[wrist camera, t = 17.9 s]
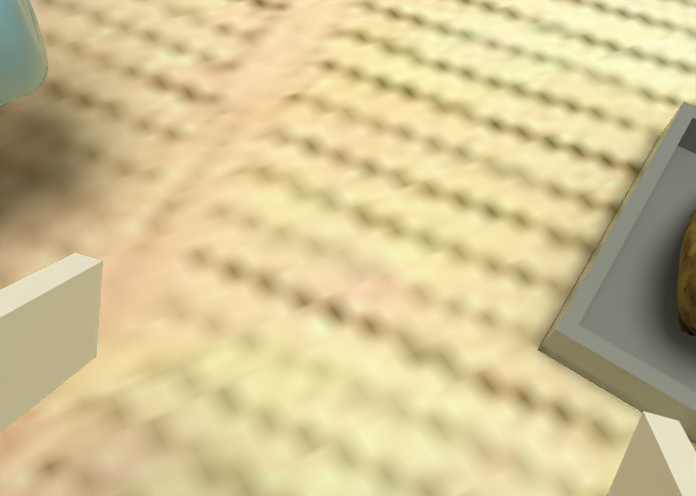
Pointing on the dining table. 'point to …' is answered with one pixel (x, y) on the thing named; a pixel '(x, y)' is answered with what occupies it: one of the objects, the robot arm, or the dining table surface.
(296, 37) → the dining table surface
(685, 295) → the potato
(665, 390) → the tray
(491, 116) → the dining table surface
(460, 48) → the dining table surface
